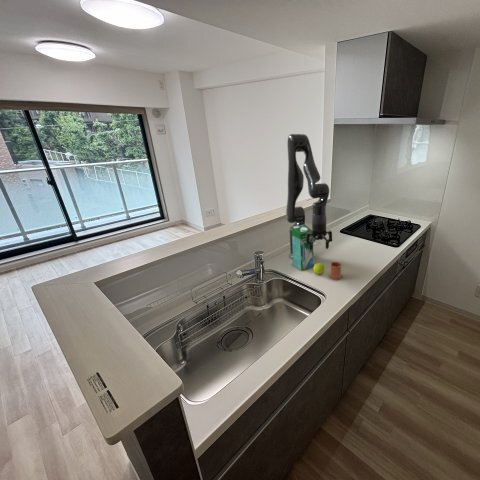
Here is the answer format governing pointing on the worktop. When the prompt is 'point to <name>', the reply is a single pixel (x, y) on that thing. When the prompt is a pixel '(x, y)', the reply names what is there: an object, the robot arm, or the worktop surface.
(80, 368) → the worktop surface
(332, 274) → the cup
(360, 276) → the worktop surface
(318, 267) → the ball
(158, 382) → the worktop surface
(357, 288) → the worktop surface
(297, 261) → the milk carton
